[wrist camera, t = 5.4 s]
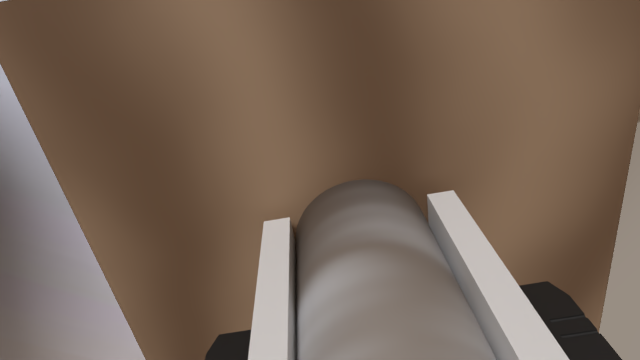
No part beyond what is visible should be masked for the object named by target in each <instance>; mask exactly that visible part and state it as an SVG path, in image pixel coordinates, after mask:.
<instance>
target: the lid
mask: <svg viewBox="0 0 640 360" xmlns="http://www.w3.org/2000/svg"><path fill="white" fill-rule="evenodd" d="M0 64H1V66H2V68H3V70H4V72H5V74H6V76H7V78H8V80H9V82H10V84H11V86H12V88H13V90H14V92H15V95H16V97H17V99H18V101H19V103H20V105H21V107H22V109H23V111H24V113H25V115H26V117H27V119H28V121H29V123H30V125H31V127H32V129H33V131H34V133H35V135H36V137H37V139H38V141H39V143H40V145H41V147H42V149H43V151H44V153H45V156H46V158H47V160H48V162H49V164H50V166H51V168H52V170H53V172H54V174H55V176H56V178H57V180H58V182H59V184H60V186H61V188H62V190H63V192H64V194H65V196H66V198H67V200H68V202H69V204H70V206H71V208H72V210H73V212H74V214H75V217H76V219H77V221H78V223H79V225H80V227H81V229H82V231H83V233H84V235H85V237H86V239H87V241H88V243H89V245H90V247H91V249H92V251H93V253H94V255H95V257H96V259H97V261H98V263H99V265H100V267H101V269H102V271H103V273H104V276H105V278H106V280H107V282H108V284H109V286H110V288H111V290H112V292H113V294H114V296H115V298H116V300H117V302H118V304H119V306H120V308H121V310H122V312H123V314H124V316H125V318H126V320H127V322H128V324H129V326H130V328H131V330H132V332H133V334H134V337H135V339H136V341H137V343H138V345H139V347H140V349H141V351H142V353H143V355H144V357H145V359H146V360H205V356H206V353H207V352H208V350H209V349H210V347H211V346H212V344H213V343H214V341H215V340H216V338H217V337H218V335H220V334H226V333H232V332H238V331H245V330H251V328H252V320H253V311H254V302H255V294H256V285H257V276H258V268H259V259H260V250H261V242H262V233H263V224H264V221H270V220H276V219H282V218H288V217H290V220H291V225H292V229H293V234H294V238H295V242H296V360H497V359H496V357H495V355H494V353H493V351H492V349H491V347H490V345H489V343H488V341H487V339H486V337H485V335H484V333H483V331H482V329H481V327H480V325H479V323H478V321H477V319H476V317H475V315H474V313H473V311H472V309H471V307H470V306H469V304H468V302H467V300H466V298H465V296H464V294H463V292H462V290H461V288H460V286H459V284H458V282H457V280H456V278H455V276H454V274H453V272H452V270H451V268H450V266H449V264H448V262H447V260H446V258H445V256H444V254H443V252H442V250H441V248H440V246H439V244H438V242H437V240H436V238H435V236H434V234H433V232H432V230H431V228H430V226H429V223H428V204H427V194H433V193H439V192H445V191H452V190H454V192H455V193H456V195H457V196H458V198H459V199H460V200H461V202H462V203H463V205H464V206H465V208H466V209H467V211H468V212H469V214H470V215H471V217H472V218H473V219H474V221H475V222H476V224H477V225H478V227H479V228H480V230H481V231H482V233H483V234H484V236H485V237H486V239H487V240H488V241H489V243H490V244H491V246H492V247H493V249H494V250H495V252H496V253H497V255H498V256H499V258H500V259H501V260H502V262H503V263H504V265H505V266H506V268H507V269H508V271H509V272H510V274H511V275H512V277H513V278H514V279H515V281H516V282H517V284H518V285H519V286H520V285H526V284H532V283H539V282H545V281H548V282H550V283H551V284H553V285H554V286H556V287H557V288H559V289H561V290H562V291H564V292H565V293H567V294H568V295H570V297H571V298H572V299H573V300H574V301H575V303H576V304H577V305H578V306H579V308H580V309H581V310H582V311H583V312H584V314H585V317H586V318H588V319H589V320H590V321H591V322H592V324H593V325H594V326H595V327H596V328H597V331H598V333H599V328H600V322H601V317H602V312H603V306H604V301H605V295H606V290H607V284H608V278H609V273H610V268H611V262H612V257H613V252H614V246H615V240H616V235H617V230H618V224H619V218H620V213H621V208H622V203H623V197H624V191H625V186H626V181H627V175H628V170H629V164H630V159H631V153H632V148H633V143H634V137H635V132H636V126H637V121H638V115H639V110H640V0H8V1H2V2H0Z"/></svg>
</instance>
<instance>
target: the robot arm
mask: <svg viewBox="0 0 640 360" xmlns="http://www.w3.org/2000/svg"><path fill="white" fill-rule="evenodd" d="M427 204H428V223H429V226H430V228H431V230H432V232H433V234H434V236H435V238H436V240H437V242H438V244H439V246H440V248H441V250H442V252H443V254H444V256H445V258H446V260H447V262H448V264H449V266H450V268H451V270H452V272H453V274H454V276H455V278H456V280H457V282H458V284H459V286H460V288H461V290H462V292H463V294H464V296H465V298H466V300H467V302H468V304H469V306H470V307H471V309H472V311H473V313H474V315H475V317H476V319H477V321H478V323H479V325H480V327H481V329H482V331H483V333H484V335H485V337H486V339H487V341H488V343H489V345H490V347H491V349H492V351H493V353H494V355H495V357H496V359H497V360H622V359H621V358H620V357H619V356H618V354H617V353H616V352H615V351H614V349H613V348H612V347H611V346H610V344H609V343H608V342H607V341H606V339H605V338H604V337H603V336H602V335H601V334H599V333H598V331H597V328H596V327H595V326H594V325H593V324H592V322H591V321H590V320H589V319H588V318H586V317H585V314H584V312H583V311H582V310H581V309H580V308H579V306H578V305H577V304H576V303H575V301H574V300H573V299H572V298H571V297H570V295H568V294H567V293H565V292H564V291H562V290H561V289H559V288H557V287H556V286H554V285H553V284H551V283H550V282H548V281H545V282H539V283H532V284H526V285H520V286H519V285H518V284H517V282H516V281H515V279H514V278H513V277H512V275H511V274H510V272H509V271H508V269H507V268H506V266H505V265H504V263H503V262H502V260H501V259H500V258H499V256H498V255H497V253H496V252H495V250H494V249H493V247H492V246H491V244H490V243H489V241H488V240H487V239H486V237H485V236H484V234H483V233H482V231H481V230H480V228H479V227H478V225H477V224H476V222H475V221H474V219H473V218H472V217H471V215H470V214H469V212H468V211H467V209H466V208H465V206H464V205H463V203H462V202H461V200H460V199H459V198H458V196H457V195H456V193H455V192H454V190H452V191H445V192H439V193H433V194H427ZM205 360H296V242H295V238H294V234H293V229H292V225H291V220H290V217H288V218H282V219H276V220H270V221H264V224H263V233H262V242H261V250H260V259H259V268H258V276H257V285H256V294H255V302H254V311H253V320H252V328H251V330H245V331H238V332H232V333H226V334H220V335H218V337H217V338H216V340H215V341H214V343H213V344H212V346H211V347H210V349H209V350H208V352H207V353H206V356H205Z"/></svg>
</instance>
